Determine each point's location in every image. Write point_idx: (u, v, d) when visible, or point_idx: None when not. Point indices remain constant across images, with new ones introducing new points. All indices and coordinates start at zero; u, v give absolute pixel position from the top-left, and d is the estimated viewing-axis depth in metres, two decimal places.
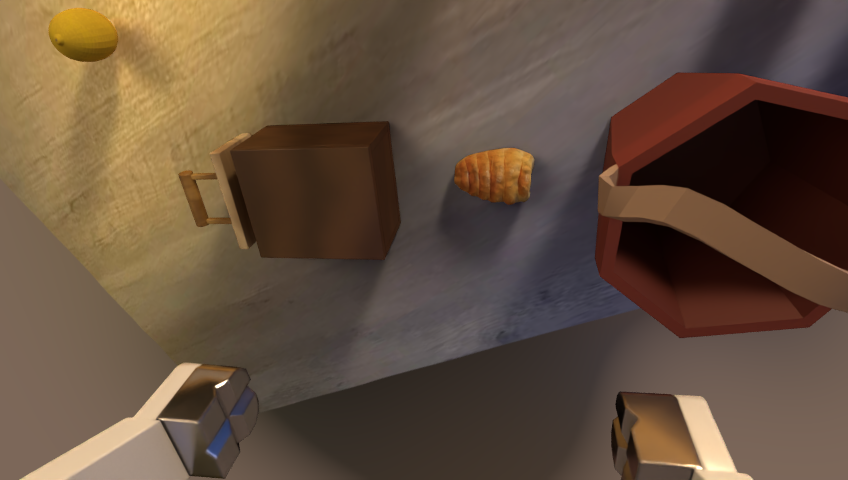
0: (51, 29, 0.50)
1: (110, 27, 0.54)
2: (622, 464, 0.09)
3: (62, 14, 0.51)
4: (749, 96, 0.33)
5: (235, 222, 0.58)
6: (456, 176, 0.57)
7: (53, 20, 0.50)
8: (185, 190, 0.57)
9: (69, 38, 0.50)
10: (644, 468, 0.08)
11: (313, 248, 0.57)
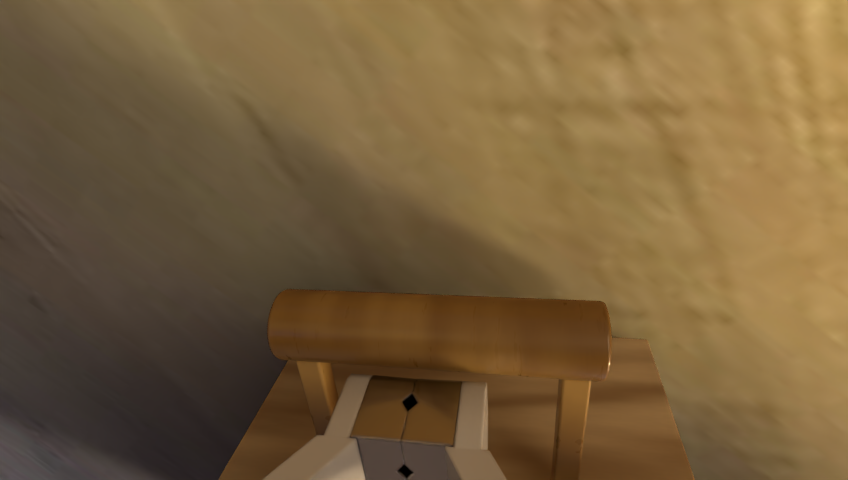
0: None
1: None
2: None
3: None
4: None
5: None
6: None
7: None
8: (504, 353, 0.09)
9: None
10: (408, 446, 0.09)
11: None
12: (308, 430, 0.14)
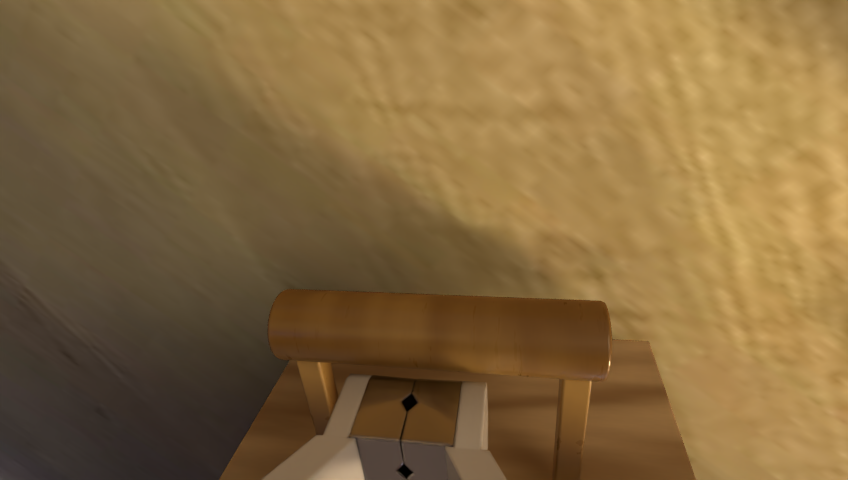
0: None
1: None
2: None
3: None
4: None
5: None
6: None
7: None
8: (504, 352, 0.09)
9: None
10: (408, 446, 0.09)
11: None
12: (308, 431, 0.14)
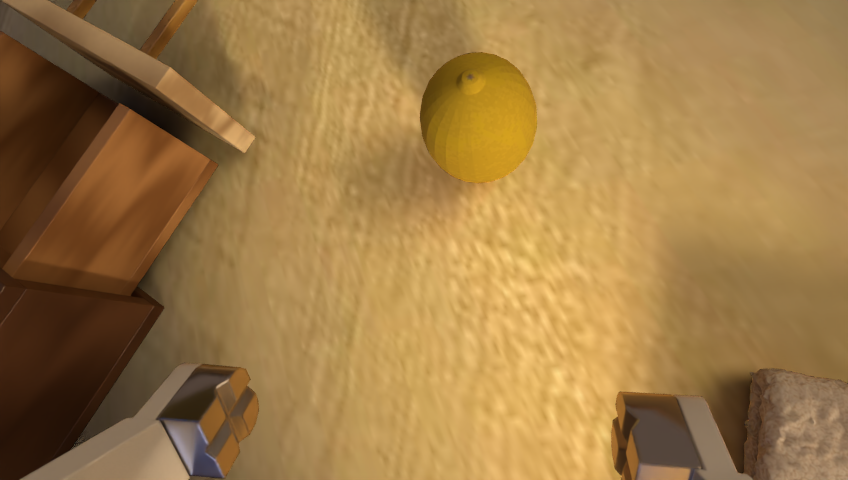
0: (499, 81, 0.20)
1: (463, 179, 0.24)
2: (622, 464, 0.09)
3: (518, 125, 0.20)
4: None
5: (47, 12, 0.24)
6: None
7: (517, 98, 0.20)
8: None
9: (458, 106, 0.20)
10: (644, 468, 0.08)
11: None
12: None
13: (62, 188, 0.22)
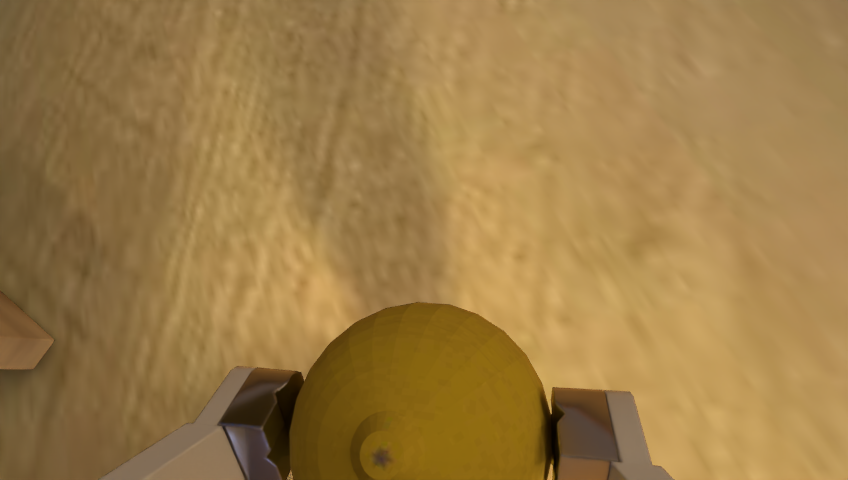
0: (464, 451, 0.07)
1: None
2: (556, 458, 0.09)
3: None
4: None
5: None
6: None
7: None
8: None
9: None
10: (565, 461, 0.08)
11: None
12: None
13: None
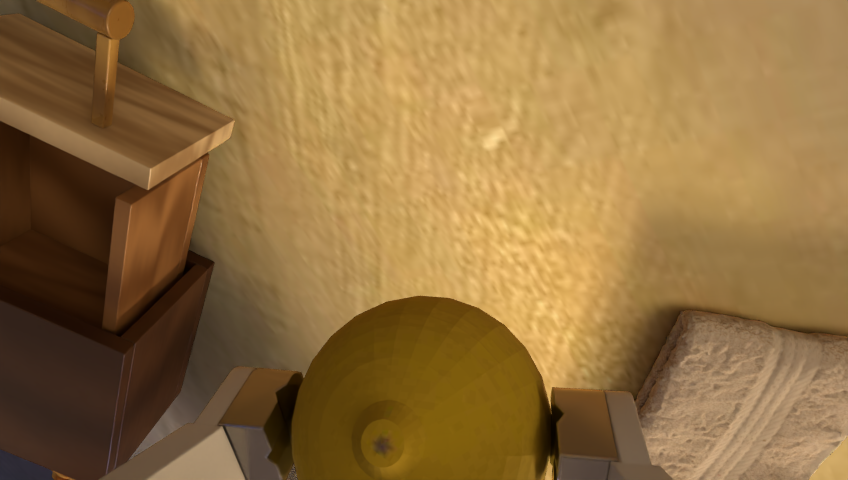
0: (463, 440, 0.08)
1: None
2: None
3: None
4: None
5: None
6: None
7: (509, 470, 0.08)
8: None
9: None
10: (565, 461, 0.08)
11: None
12: None
13: (111, 271, 0.25)
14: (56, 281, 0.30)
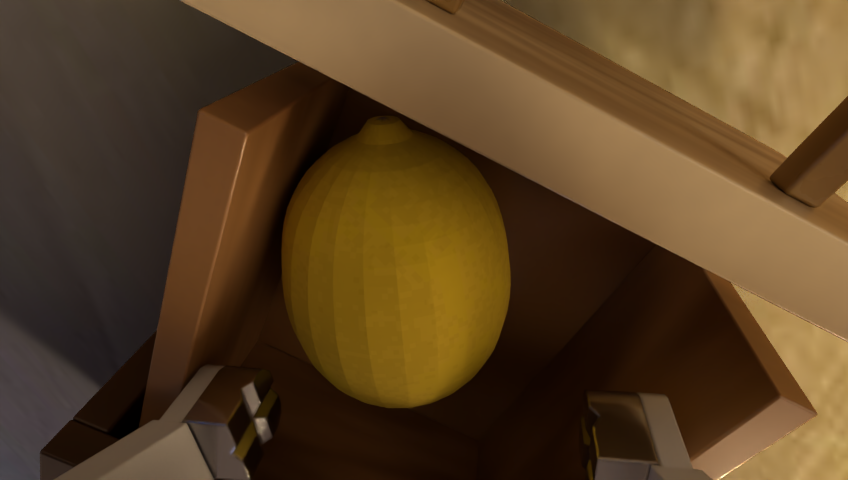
0: (437, 150, 0.10)
1: (325, 372, 0.11)
2: (588, 461, 0.09)
3: (451, 240, 0.09)
4: None
5: (440, 77, 0.06)
6: None
7: (463, 191, 0.10)
8: None
9: (341, 160, 0.10)
10: (603, 464, 0.08)
11: None
12: None
13: None
14: (336, 454, 0.16)
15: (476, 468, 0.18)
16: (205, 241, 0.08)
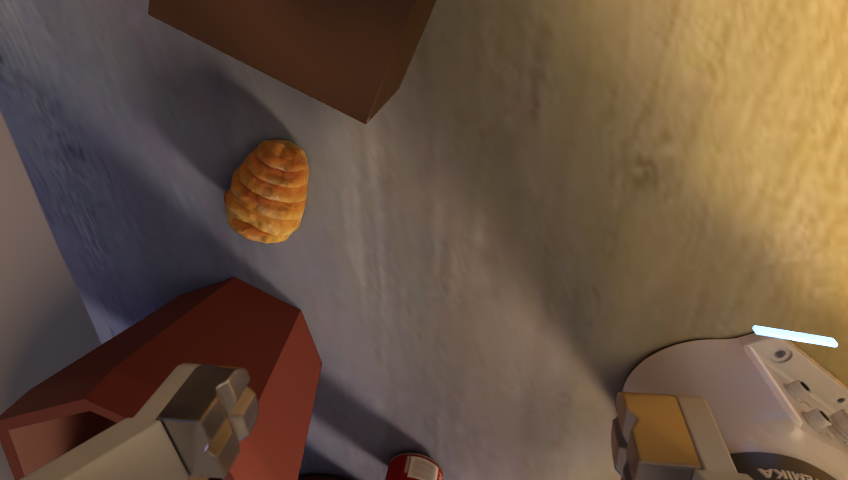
0: None
1: None
2: (622, 464, 0.09)
3: None
4: None
5: None
6: (283, 148, 0.38)
7: None
8: None
9: None
10: (644, 468, 0.08)
11: None
12: None
13: None
14: None
15: None
16: None
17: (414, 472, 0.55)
